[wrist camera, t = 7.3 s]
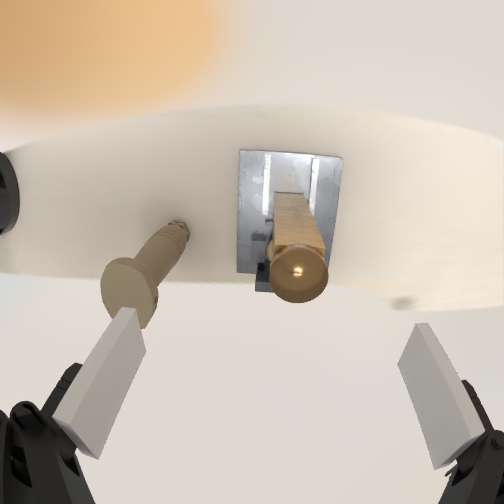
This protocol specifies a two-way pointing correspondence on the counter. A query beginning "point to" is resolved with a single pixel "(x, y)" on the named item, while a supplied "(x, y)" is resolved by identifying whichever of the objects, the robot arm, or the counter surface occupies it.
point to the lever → (296, 251)
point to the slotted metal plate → (262, 202)
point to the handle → (143, 273)
